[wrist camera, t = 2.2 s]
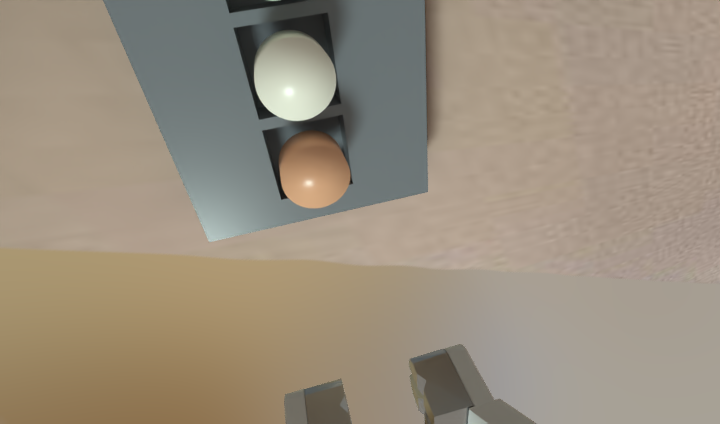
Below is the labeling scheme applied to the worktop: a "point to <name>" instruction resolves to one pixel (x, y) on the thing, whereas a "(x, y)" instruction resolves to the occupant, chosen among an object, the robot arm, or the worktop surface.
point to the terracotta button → (313, 169)
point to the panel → (260, 126)
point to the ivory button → (293, 75)
